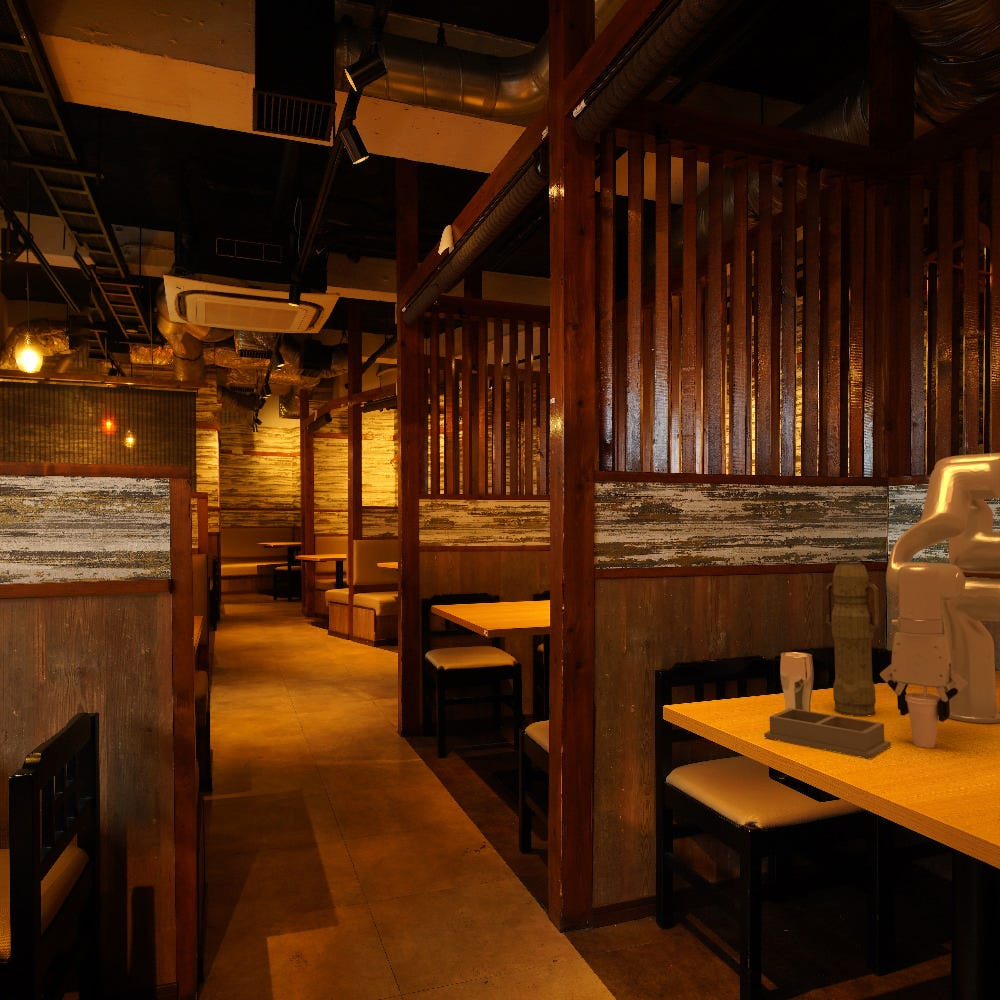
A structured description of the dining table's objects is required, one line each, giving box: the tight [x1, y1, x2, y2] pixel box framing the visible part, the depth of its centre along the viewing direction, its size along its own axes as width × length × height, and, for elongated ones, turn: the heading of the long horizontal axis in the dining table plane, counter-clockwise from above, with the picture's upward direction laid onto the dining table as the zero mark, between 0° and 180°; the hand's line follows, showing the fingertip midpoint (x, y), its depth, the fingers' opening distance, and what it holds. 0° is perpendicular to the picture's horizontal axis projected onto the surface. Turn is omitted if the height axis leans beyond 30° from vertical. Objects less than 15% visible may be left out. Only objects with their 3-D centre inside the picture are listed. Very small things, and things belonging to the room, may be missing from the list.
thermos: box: [823, 562, 880, 717], centre depth 177 cm, size 9×12×35 cm
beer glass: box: [779, 651, 814, 711], centre depth 169 cm, size 7×7×15 cm
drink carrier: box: [763, 708, 892, 760], centre depth 152 cm, size 11×21×4 cm, turn 45°
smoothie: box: [905, 686, 940, 749], centre depth 150 cm, size 6×6×14 cm
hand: (923, 716), depth 150 cm, fingers closed on smoothie, 6 cm apart
